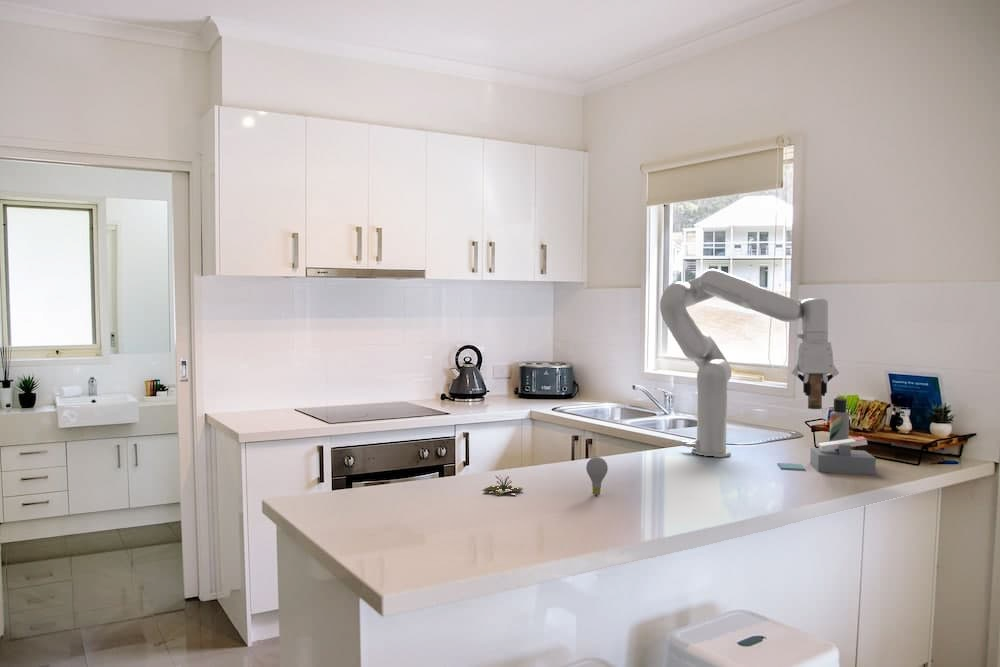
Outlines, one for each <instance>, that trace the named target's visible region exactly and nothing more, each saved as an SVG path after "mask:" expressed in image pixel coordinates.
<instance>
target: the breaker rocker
mask: <svg viewBox="0 0 1000 667" xmlns="http://www.w3.org/2000/svg"><path fill="white" fill-rule="evenodd" d="M867 440H868V439H867V438H866V437H864V436H863V435H862V436H854V437H851V438H848V439H844V440H837V441H830V440H829V441H830V442H829V441H826V442H825V441H824V442H819V443H817V445H818V448H820V449H821V450H822V451H826V450H833V449H839V445H851V448H852V447H860V446H866V445H868V441H867Z"/></svg>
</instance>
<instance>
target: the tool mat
mask: <svg viewBox="0 0 1000 667" xmlns="http://www.w3.org/2000/svg"><path fill="white" fill-rule="evenodd" d="M777 466H778V467H779V469H781V470H786V471H787V470H790V471H791V470H792V471H806V468H805V466H804V465H803V464H801V463H788V462H786V463H784V462H777Z"/></svg>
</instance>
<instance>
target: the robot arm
mask: <svg viewBox="0 0 1000 667" xmlns="http://www.w3.org/2000/svg"><path fill="white" fill-rule="evenodd" d="M714 297H715V298H718V299H721V300H724V301H727V302H729V303H732V304H733V305H737V306H740V307H742V308H744V309H748V310H752V311H755V312H757V313H760V314H762V315H765V316H768V317H771V318H772V319H773V318H774V319H776V320H779V321H781V322H785V323H791V322H798V321H801V333H798V334H797V336H796V337H797V339H801V340H802V341H800V342H799V345H798V352H797V362H796V365H795V366H794V368H793V369H792V371H791V374H792V375H793V376H796V378H798V379H799V380H800V381H801V382H802V383H803V385H802V387H803V390H802V391H803V392H802V393H803V394H805V395H804V396H807V397H808V396H809V395H810V384H809V383H808V378H809V374H822V397H825V396H826V394H827V393H828V392H827V391H828V389H827V388H828V387H827V386H828V383H829V382H830V380H832V379H833V378H834V377H836V376H838V375H839V374H840V371H838V369H837V368H836V366H835V365H834V354H833V347H832V346H833V345H832V341H829V315H828V314H829V310H828V309H829V303H828V301H827V300H826V299H825V298H806V299H799V298H790V297H788V296H784V295H782V294H779V293H776V292H774V291H771V290H768V289H766V288H764V287H761V286H760V285H758V284H756V283H755V282H752V281H751V280H746V279H744V278H741V277H738V276H736V275H732V274H731V273H727V272H725V271H722V270H719V269H716V268H710V269H707V270H704V272H702V273H701V275H700V276H698V277H695V278H692V279H690V280H688V281H683V282H682V281H676V282H672V283H671V284H669V285H668V286H667V287H666V288H665V289H664V291H663V293H662V295H661V297H660V301H659V302H660V303H659V309H660V310H659V311H660V314H661V317H662V319H663V321H664V324H666V327H667V328H668V329H669V331H670V333H671V335H672V337H673V338H674V340H675V341H676V343H677V345H678V346H679V348H680V349H681V352H682V353H683V354H684V356H685V357H686V359H689V360H691V361H693V362H694V363H695V365H696V366H697V367H698V369H697V370H698V371H697V374H696V384H697V386H696V387H697V418H696V422H697V423H696V438H695V439H694V440H693V439H692V440H690V441H689V440H682V447H686V448H692V449H691V453H692V452H693V453H695V454H694V455H696V454H699V455H704V456H703V457H706V456H714V457H713V458H726V456H727V457H729V456H731V454H732V451H731V450H730V449H729V450H728V449H727V421H728V382H729V381H730V379H731V377H732V367H731V365H730V364H729V363H730V362H728V361H727V358H726V357H725V356H724V354H723V352H722V351H721V350H720V348H719V347H718V345H717V344H716V342H715V341H714V339H713V338H712V337H711V336H710V335H709V333H706V332H702V331H701V329H700V328H699V326H698V325H697V324H696V322H695V320H694V319H693V317H692V316H691V315H690V313H689V312H688V310H687V307H691V306H693V305H696V304H699V303H702V302H704V301H706V300H709V299H712V298H714ZM801 373H802V374H801ZM693 453H692V454H693ZM699 455H698V456H699Z"/></svg>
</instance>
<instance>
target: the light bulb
mask: <svg viewBox="0 0 1000 667" xmlns="http://www.w3.org/2000/svg"><path fill="white" fill-rule="evenodd" d="M585 466H586V468H585V469H586V473H587V474H588V476H589V478H590V480H591V487H592V494H593V495H594V496H595V495H598V496H599V495H601V488H602V482H603V480H604V478H605V477H606V475H607V473H608V469H609V468H608V467H609V466H608V463H607V461H606V460H605V459H604V458H602V457H599V456H596V457H592V458H590V459H589V460H588V462H587V463H586V465H585Z"/></svg>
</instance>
